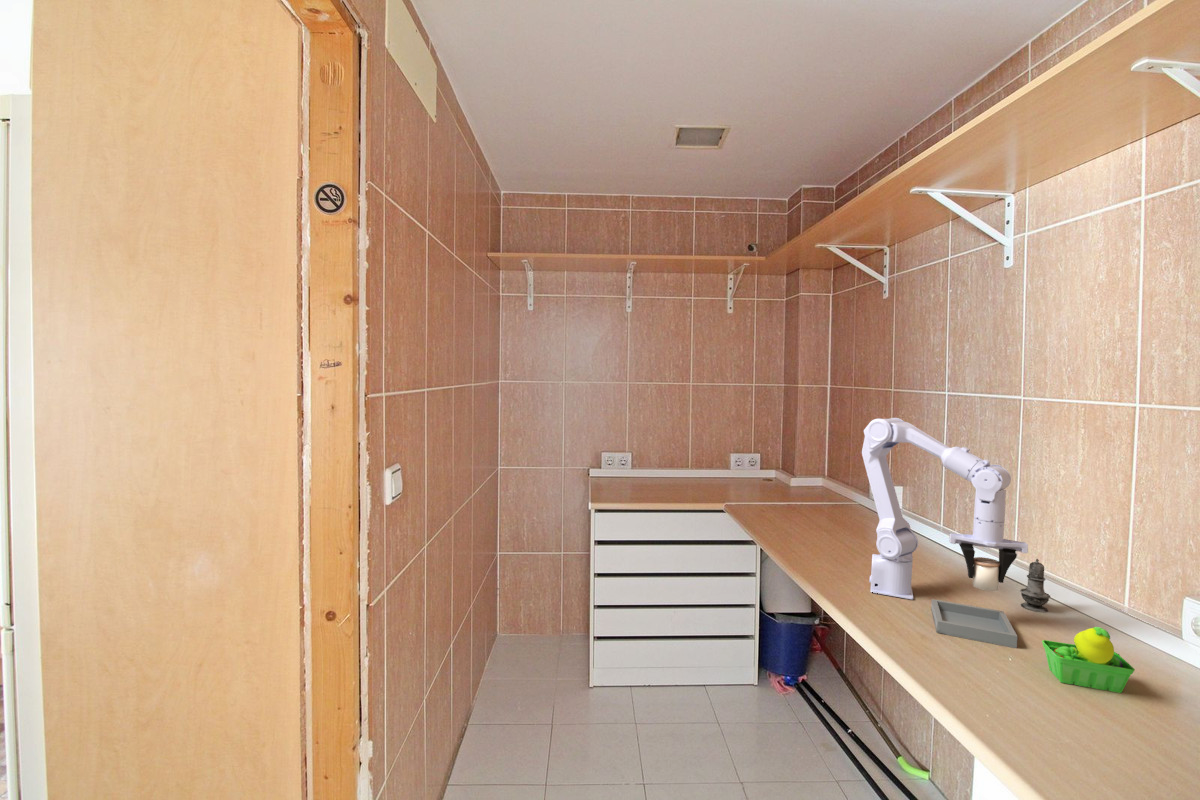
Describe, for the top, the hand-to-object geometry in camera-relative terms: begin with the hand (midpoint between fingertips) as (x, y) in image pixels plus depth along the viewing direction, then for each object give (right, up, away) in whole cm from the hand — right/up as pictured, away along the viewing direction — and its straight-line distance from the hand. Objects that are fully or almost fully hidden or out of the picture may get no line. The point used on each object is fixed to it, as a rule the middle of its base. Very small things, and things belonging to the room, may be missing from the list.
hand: (985, 579), depth 129 cm
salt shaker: (+17, -10, +8) cm, 22 cm away
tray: (-6, -9, -4) cm, 12 cm away
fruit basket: (+1, -11, -26) cm, 28 cm away
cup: (0, -2, 0) cm, 2 cm away
